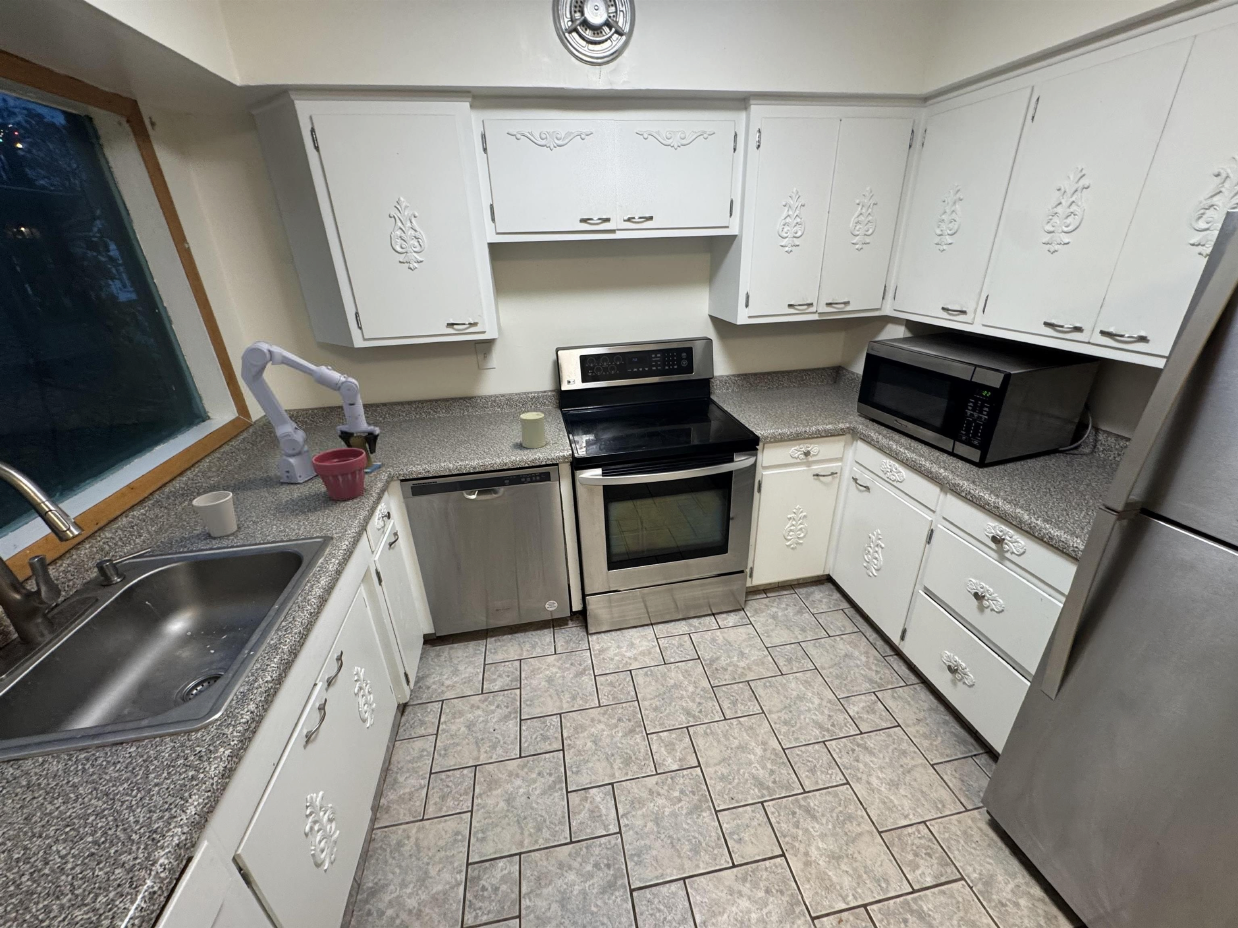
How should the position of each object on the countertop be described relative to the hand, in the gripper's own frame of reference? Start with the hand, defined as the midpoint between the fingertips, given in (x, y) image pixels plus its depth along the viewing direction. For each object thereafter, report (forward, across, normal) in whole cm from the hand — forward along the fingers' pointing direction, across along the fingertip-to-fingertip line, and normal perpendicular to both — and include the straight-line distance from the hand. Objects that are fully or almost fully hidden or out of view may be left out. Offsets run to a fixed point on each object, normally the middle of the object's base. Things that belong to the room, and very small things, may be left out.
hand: (363, 452), depth 173 cm
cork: (+5, 0, +1) cm, 5 cm away
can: (+6, -51, -31) cm, 60 cm away
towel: (+5, 0, +1) cm, 5 cm away
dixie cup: (+6, +10, +46) cm, 48 cm away
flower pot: (+6, -8, +21) cm, 23 cm away
